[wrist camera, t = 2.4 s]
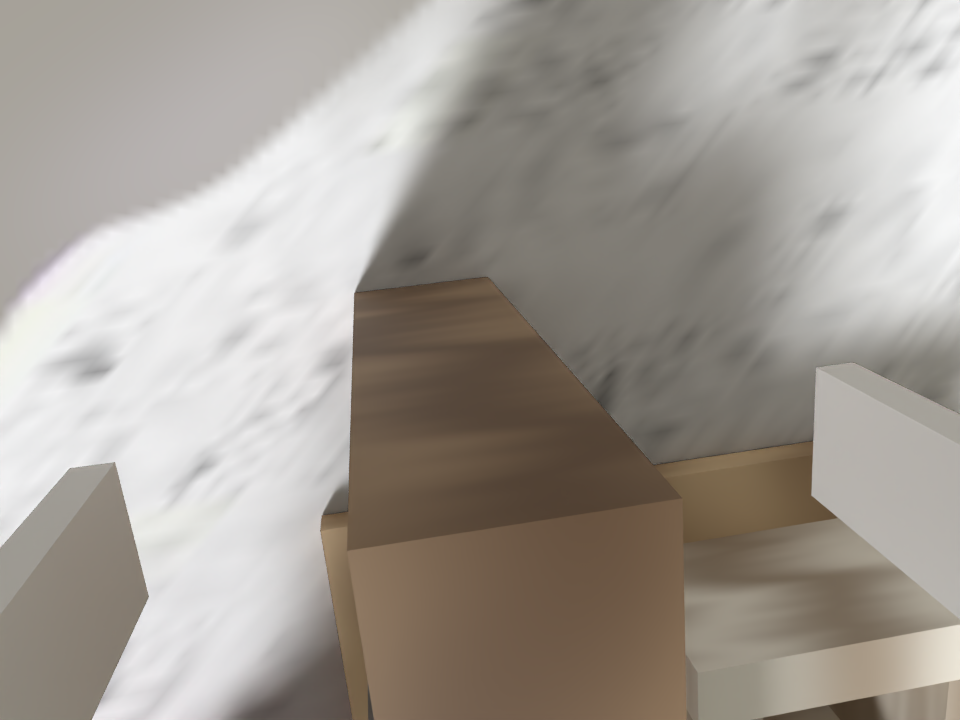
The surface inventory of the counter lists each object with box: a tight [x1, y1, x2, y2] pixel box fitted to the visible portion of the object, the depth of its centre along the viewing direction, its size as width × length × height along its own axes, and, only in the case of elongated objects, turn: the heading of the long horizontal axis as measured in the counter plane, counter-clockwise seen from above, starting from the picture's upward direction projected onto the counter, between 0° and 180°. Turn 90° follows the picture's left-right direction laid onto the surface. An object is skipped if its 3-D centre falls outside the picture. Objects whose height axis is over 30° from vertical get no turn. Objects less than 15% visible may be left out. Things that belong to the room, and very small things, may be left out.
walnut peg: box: [347, 277, 687, 720], centre depth 17 cm, size 4×4×15 cm
